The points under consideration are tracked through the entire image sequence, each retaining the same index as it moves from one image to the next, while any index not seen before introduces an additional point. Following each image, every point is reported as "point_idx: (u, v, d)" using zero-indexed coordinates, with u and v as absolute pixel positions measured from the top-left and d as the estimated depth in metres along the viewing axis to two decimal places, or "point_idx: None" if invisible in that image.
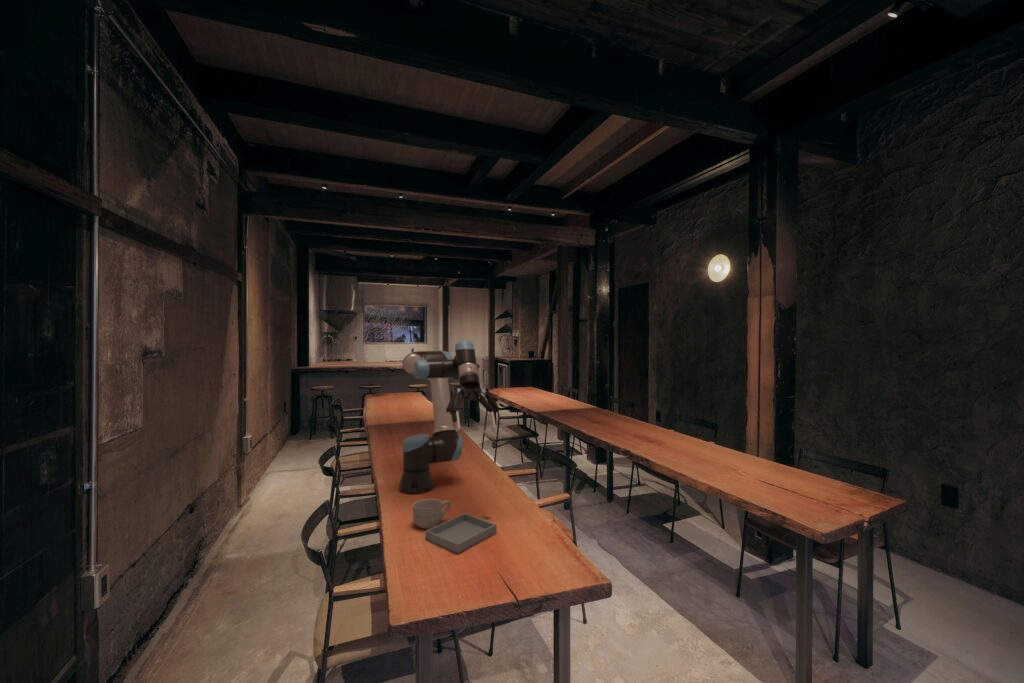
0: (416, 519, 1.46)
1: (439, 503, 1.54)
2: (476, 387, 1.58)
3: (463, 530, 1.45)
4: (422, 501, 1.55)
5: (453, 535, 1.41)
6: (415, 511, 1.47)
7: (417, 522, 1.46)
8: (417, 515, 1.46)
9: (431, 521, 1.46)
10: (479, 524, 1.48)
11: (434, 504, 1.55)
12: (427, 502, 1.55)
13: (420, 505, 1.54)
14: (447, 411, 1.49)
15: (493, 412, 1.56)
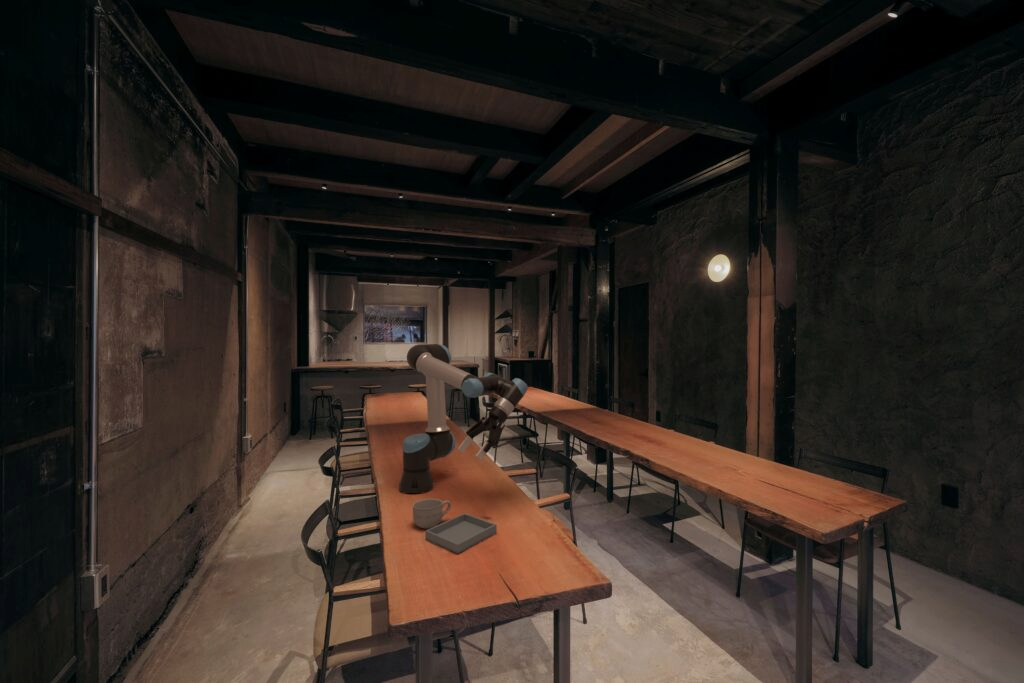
0: (416, 519, 1.46)
1: (439, 503, 1.54)
2: None
3: (463, 530, 1.45)
4: (422, 501, 1.55)
5: (453, 535, 1.41)
6: (415, 511, 1.47)
7: (417, 522, 1.46)
8: (417, 515, 1.46)
9: (431, 521, 1.46)
10: (479, 524, 1.48)
11: (434, 504, 1.55)
12: (427, 502, 1.55)
13: (420, 505, 1.54)
14: (493, 443, 1.56)
15: None
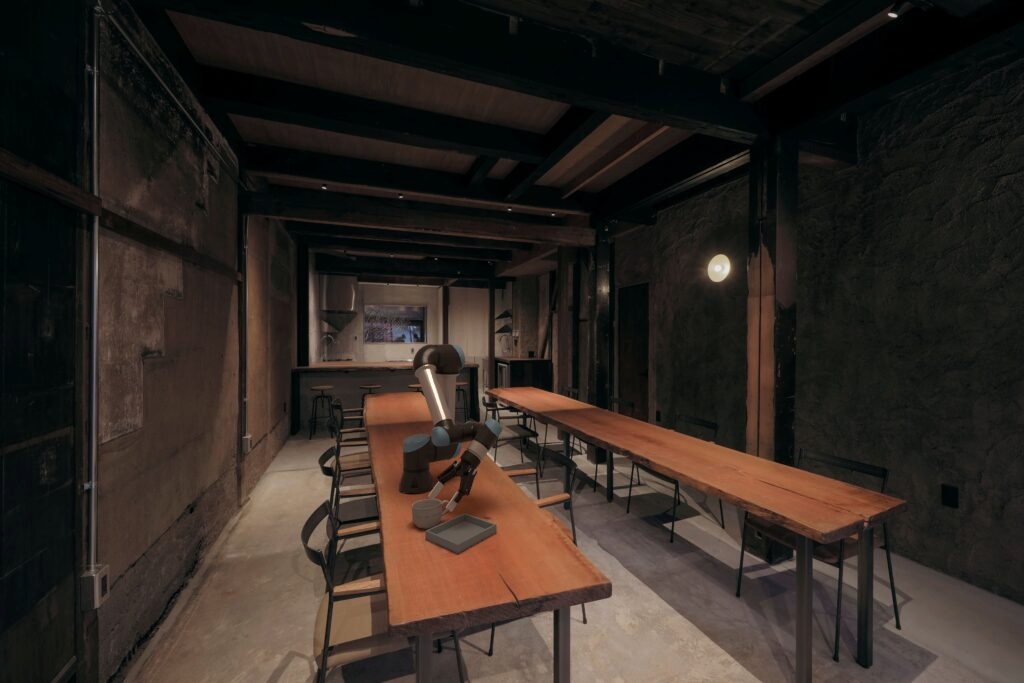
0: (415, 519, 1.46)
1: (438, 503, 1.54)
2: None
3: (463, 530, 1.45)
4: (421, 501, 1.55)
5: (453, 535, 1.41)
6: (414, 511, 1.47)
7: (416, 522, 1.46)
8: (416, 515, 1.46)
9: (430, 521, 1.46)
10: (479, 524, 1.48)
11: (433, 504, 1.55)
12: (426, 502, 1.55)
13: (419, 505, 1.54)
14: (464, 493, 1.46)
15: None
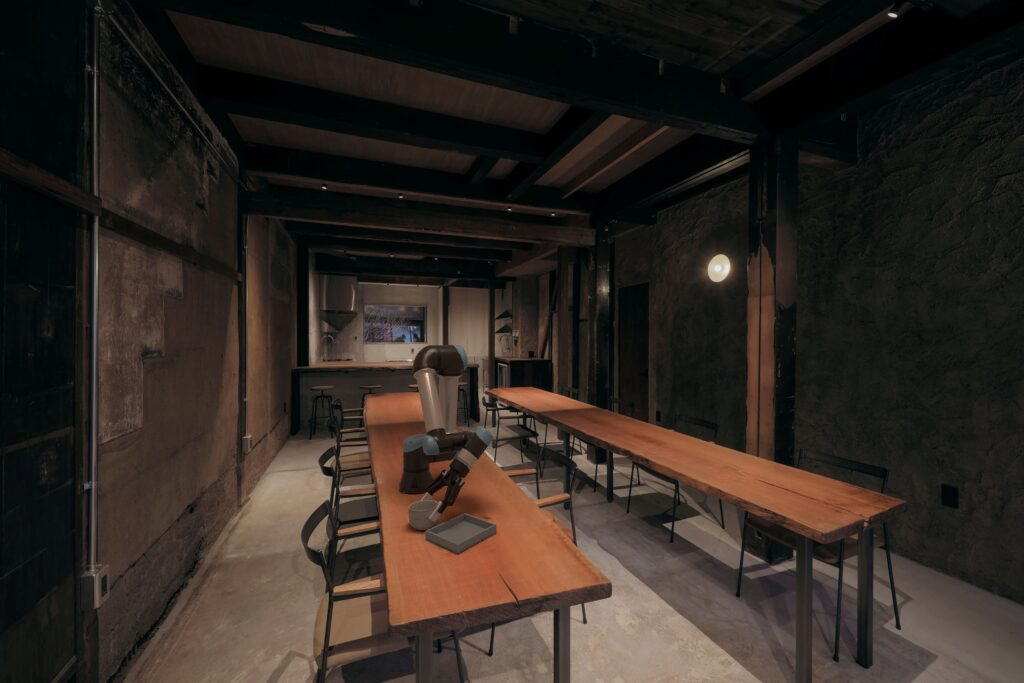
0: (414, 521, 1.45)
1: (434, 504, 1.53)
2: None
3: (463, 530, 1.45)
4: (416, 503, 1.53)
5: (453, 535, 1.41)
6: (413, 513, 1.45)
7: (415, 524, 1.44)
8: (415, 517, 1.44)
9: (429, 522, 1.45)
10: (479, 524, 1.48)
11: (428, 505, 1.54)
12: (421, 504, 1.54)
13: (414, 507, 1.52)
14: (447, 503, 1.45)
15: None
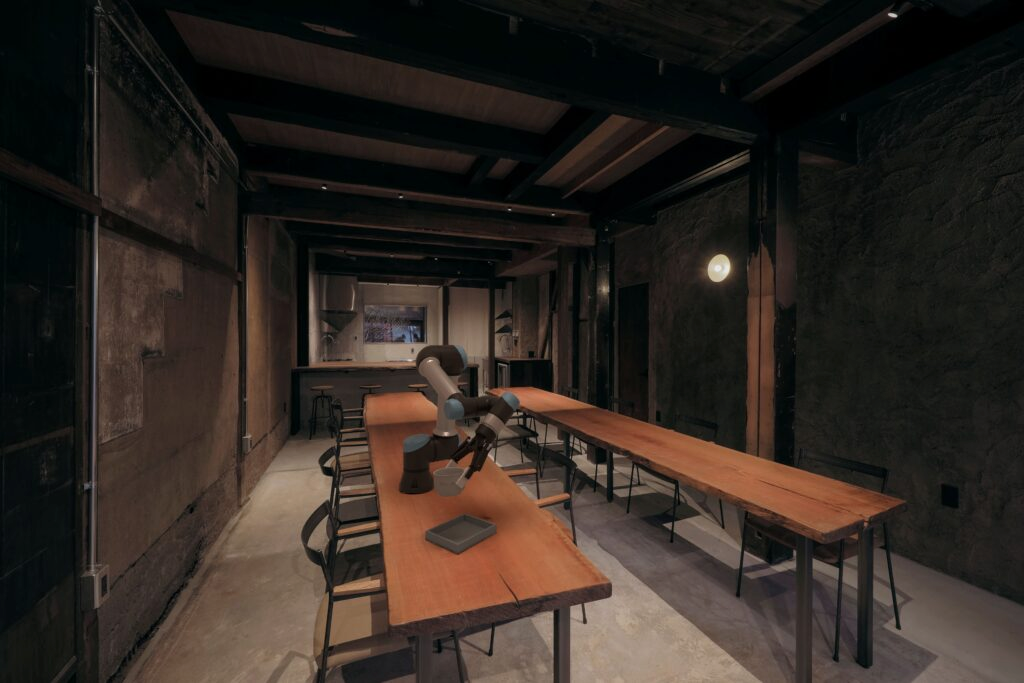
0: (440, 487, 1.36)
1: (460, 471, 1.44)
2: None
3: (463, 530, 1.45)
4: (441, 470, 1.44)
5: (453, 535, 1.41)
6: (438, 479, 1.36)
7: (441, 490, 1.36)
8: (441, 483, 1.36)
9: (456, 488, 1.36)
10: (479, 524, 1.48)
11: (453, 472, 1.45)
12: (446, 471, 1.45)
13: (439, 474, 1.43)
14: (475, 468, 1.37)
15: None
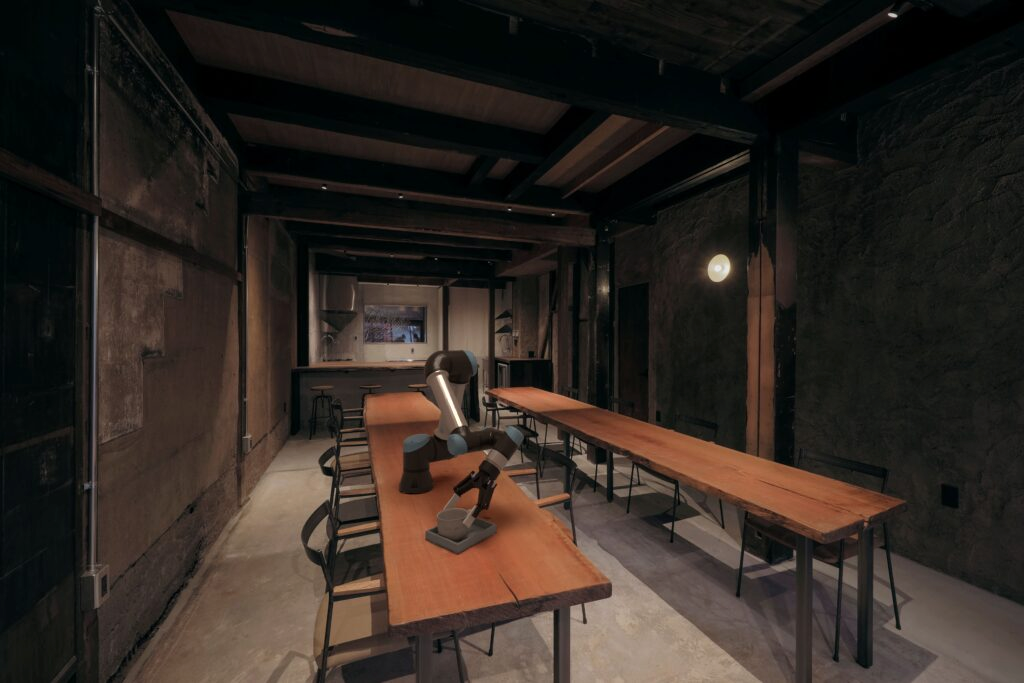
0: (443, 531, 1.35)
1: (463, 512, 1.44)
2: None
3: None
4: (444, 511, 1.44)
5: None
6: (442, 523, 1.36)
7: (444, 535, 1.35)
8: (444, 527, 1.35)
9: (460, 532, 1.36)
10: (479, 524, 1.48)
11: (457, 514, 1.45)
12: (449, 512, 1.45)
13: (442, 516, 1.43)
14: (483, 507, 1.35)
15: None
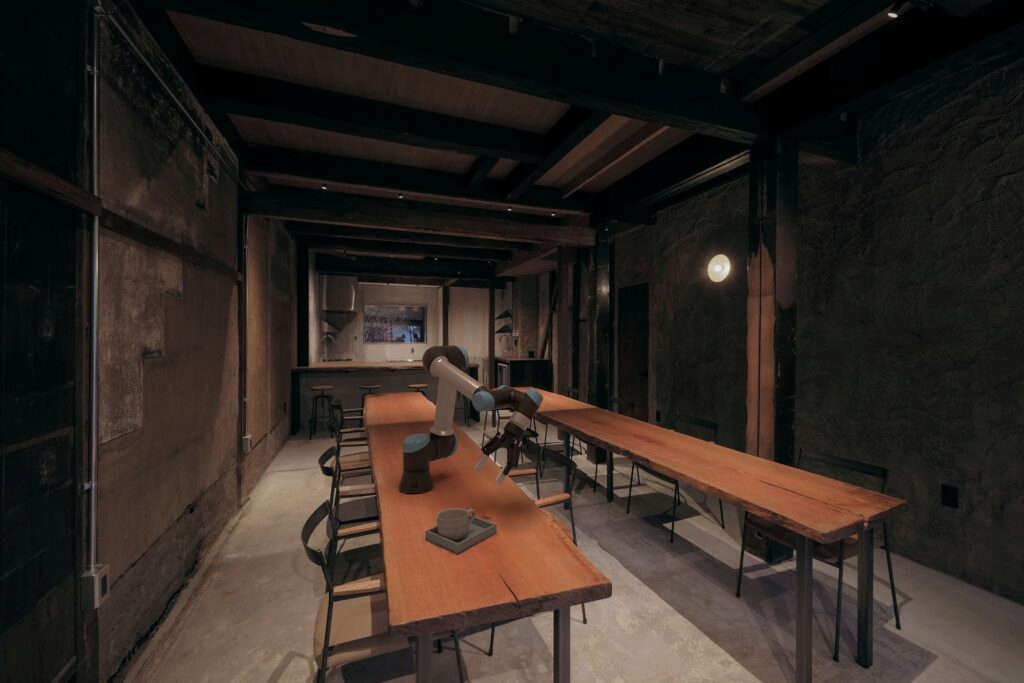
0: (443, 531, 1.35)
1: (463, 512, 1.44)
2: None
3: None
4: (444, 511, 1.44)
5: None
6: (442, 523, 1.36)
7: (444, 535, 1.35)
8: (444, 527, 1.35)
9: (460, 532, 1.36)
10: (479, 524, 1.48)
11: (457, 514, 1.45)
12: (449, 512, 1.45)
13: (442, 516, 1.43)
14: (512, 465, 1.47)
15: None
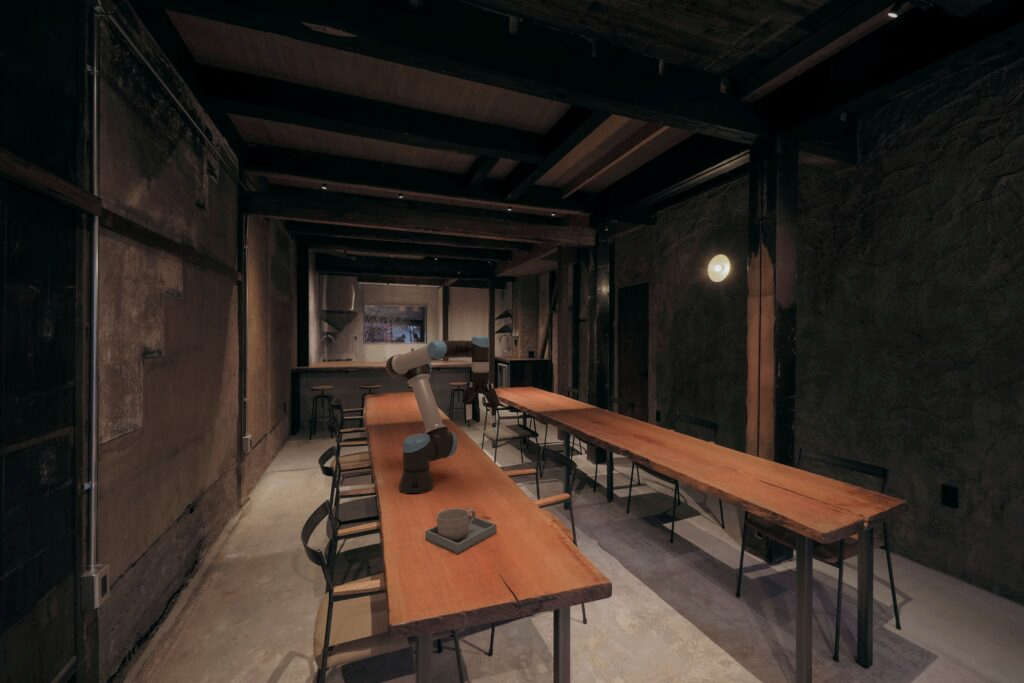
0: (443, 531, 1.35)
1: (463, 512, 1.44)
2: None
3: None
4: (444, 511, 1.44)
5: None
6: (442, 523, 1.36)
7: (444, 535, 1.35)
8: (444, 527, 1.35)
9: (460, 532, 1.36)
10: (479, 524, 1.48)
11: (457, 514, 1.45)
12: (449, 512, 1.45)
13: (442, 516, 1.43)
14: (496, 406, 1.73)
15: None
